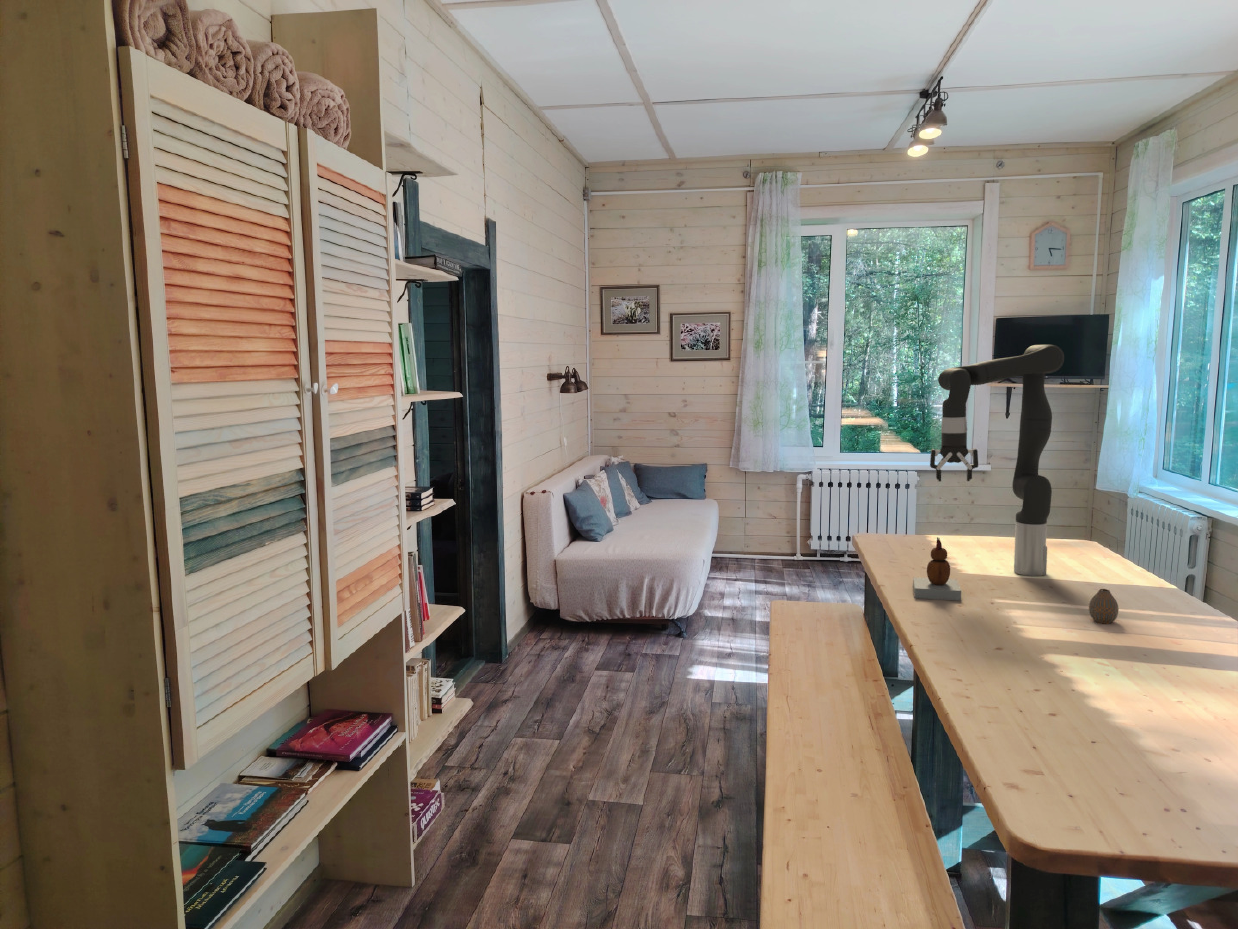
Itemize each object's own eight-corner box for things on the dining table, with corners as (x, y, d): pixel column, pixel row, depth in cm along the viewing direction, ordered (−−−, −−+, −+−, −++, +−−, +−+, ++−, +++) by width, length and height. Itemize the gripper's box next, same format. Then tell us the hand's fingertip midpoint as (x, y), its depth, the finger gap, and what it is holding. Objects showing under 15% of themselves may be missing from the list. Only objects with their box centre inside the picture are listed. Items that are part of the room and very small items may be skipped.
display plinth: (956, 588, 254) (957, 579, 253) (960, 600, 241) (961, 590, 241) (912, 586, 257) (913, 577, 257) (914, 597, 245) (914, 588, 245)
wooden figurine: (938, 587, 245) (940, 539, 243) (923, 583, 250) (924, 535, 248) (953, 584, 248) (954, 536, 246) (937, 580, 253) (938, 533, 251)
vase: (1116, 619, 221) (1117, 587, 220) (1119, 626, 215) (1121, 594, 214) (1087, 616, 224) (1088, 585, 223) (1089, 623, 218) (1091, 592, 217)
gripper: (976, 429, 260) (976, 479, 262) (929, 430, 264) (929, 479, 266) (979, 431, 253) (979, 482, 255) (931, 432, 257) (931, 482, 259)
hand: (953, 481), depth 261 cm, fingers open, 8 cm apart
